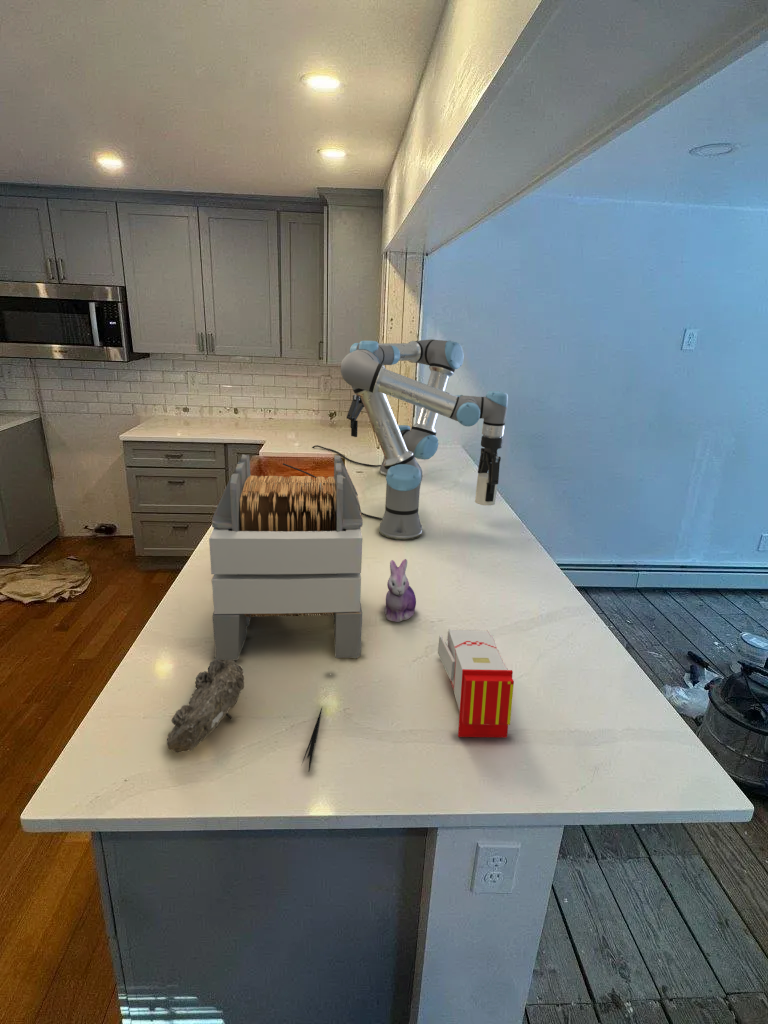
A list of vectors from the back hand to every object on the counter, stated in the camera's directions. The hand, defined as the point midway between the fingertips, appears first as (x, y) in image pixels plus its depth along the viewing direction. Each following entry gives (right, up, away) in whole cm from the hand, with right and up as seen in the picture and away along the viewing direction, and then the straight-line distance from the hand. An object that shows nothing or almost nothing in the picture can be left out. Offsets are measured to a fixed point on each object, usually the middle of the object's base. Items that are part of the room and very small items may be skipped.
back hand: (365, 434), depth 232 cm
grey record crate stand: (-16, -59, -90) cm, 109 cm away
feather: (-5, -72, -123) cm, 142 cm away
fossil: (-25, -71, -124) cm, 145 cm away
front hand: (+45, -26, -24) cm, 57 cm away
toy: (+25, -69, -113) cm, 135 cm away
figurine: (+12, -58, -84) cm, 103 cm away
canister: (+45, -28, -23) cm, 58 cm away
